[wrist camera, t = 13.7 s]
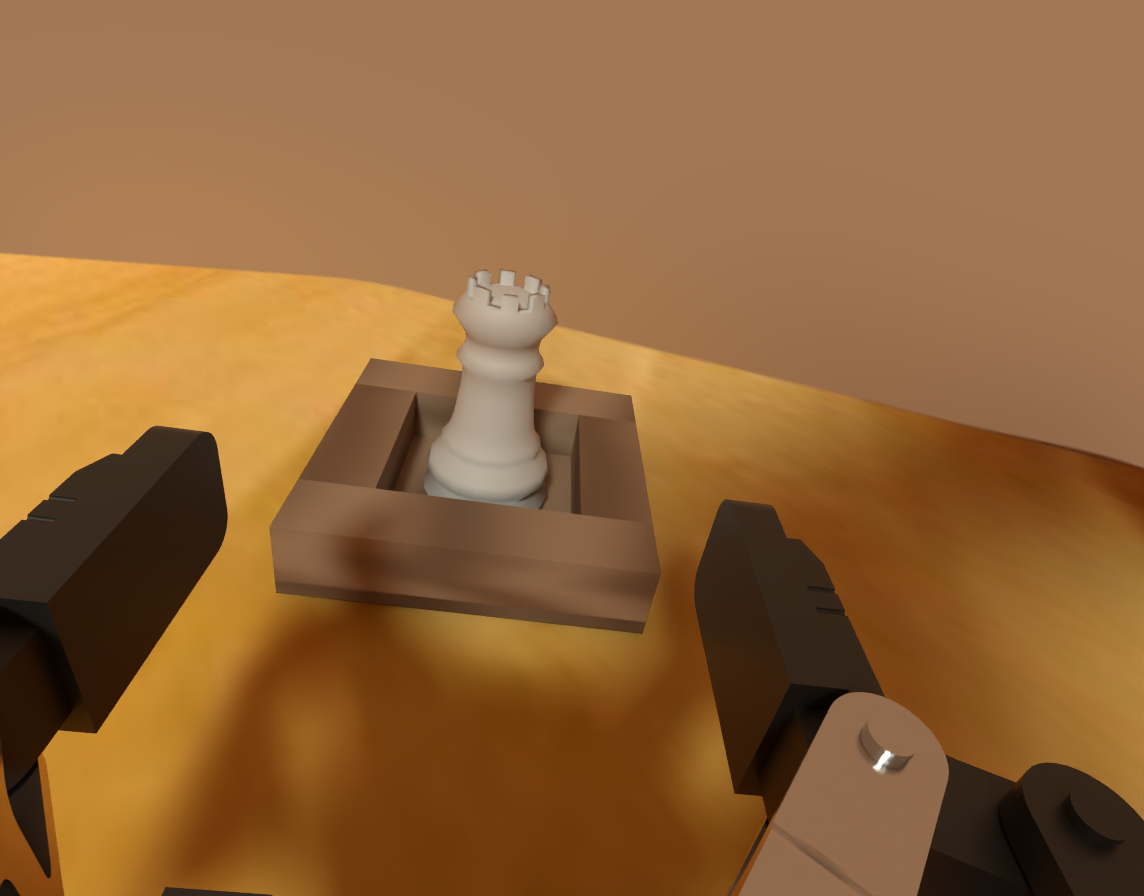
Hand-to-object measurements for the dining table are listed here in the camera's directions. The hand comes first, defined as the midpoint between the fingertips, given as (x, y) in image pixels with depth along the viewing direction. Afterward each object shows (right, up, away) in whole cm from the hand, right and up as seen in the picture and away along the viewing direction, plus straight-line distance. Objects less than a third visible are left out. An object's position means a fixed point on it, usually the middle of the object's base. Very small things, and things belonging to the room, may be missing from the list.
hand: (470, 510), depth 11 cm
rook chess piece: (-2, -1, +14) cm, 14 cm away
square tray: (-2, -1, +14) cm, 14 cm away
